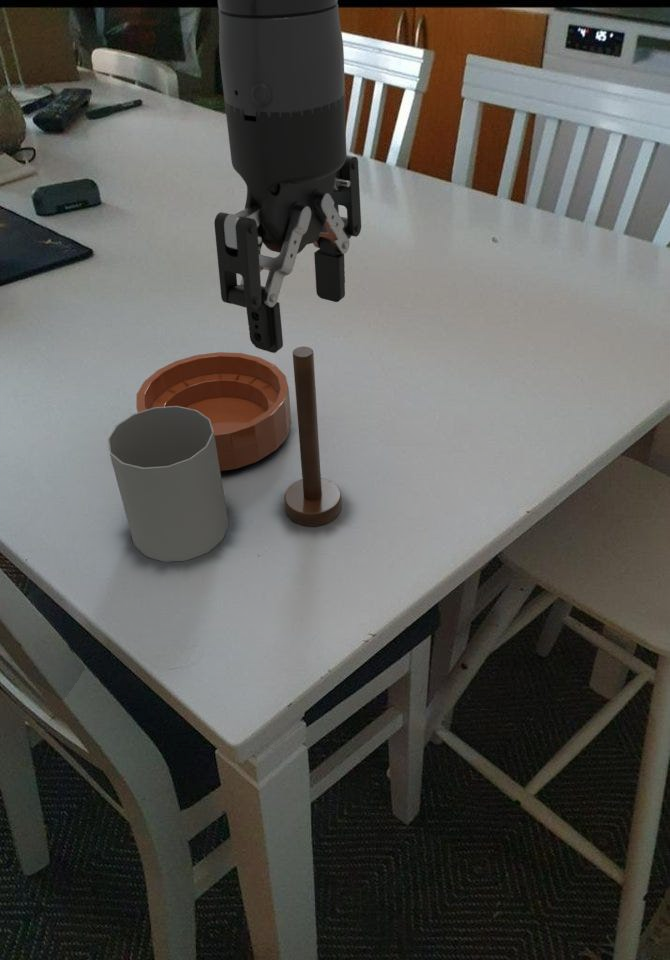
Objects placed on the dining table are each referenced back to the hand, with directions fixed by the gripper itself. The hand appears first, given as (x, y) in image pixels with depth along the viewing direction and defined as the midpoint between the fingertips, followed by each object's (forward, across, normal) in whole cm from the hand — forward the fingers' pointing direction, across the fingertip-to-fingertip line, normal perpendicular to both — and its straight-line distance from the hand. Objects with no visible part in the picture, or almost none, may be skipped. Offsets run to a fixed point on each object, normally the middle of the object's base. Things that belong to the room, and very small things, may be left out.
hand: (300, 322), depth 61 cm
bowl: (+18, -5, -14) cm, 24 cm away
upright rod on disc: (+18, 0, 0) cm, 19 cm away
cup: (+19, +8, -9) cm, 22 cm away
